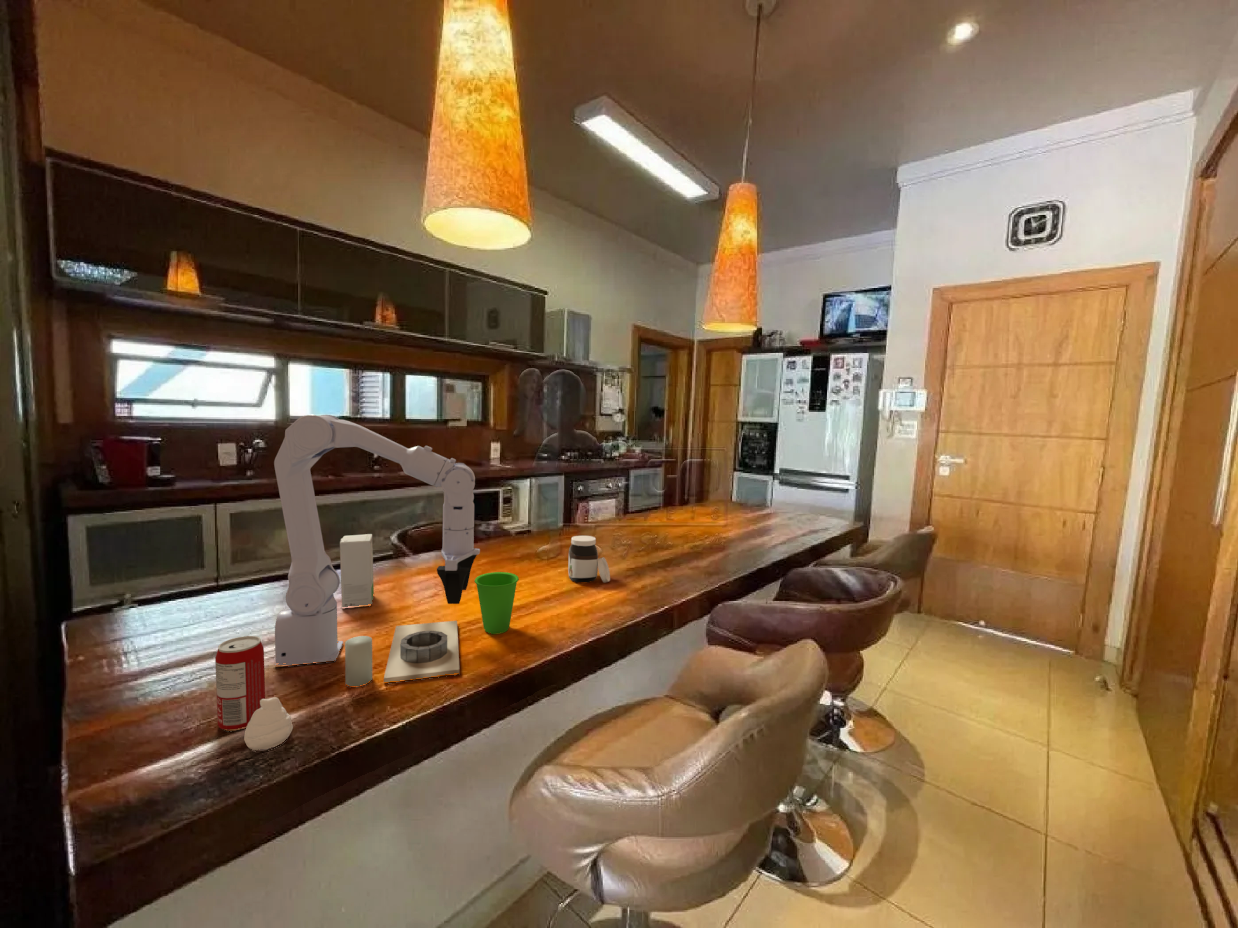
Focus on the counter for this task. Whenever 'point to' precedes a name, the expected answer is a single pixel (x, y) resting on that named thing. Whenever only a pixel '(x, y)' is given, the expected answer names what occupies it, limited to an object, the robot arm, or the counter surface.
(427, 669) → the peg holder
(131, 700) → the counter surface
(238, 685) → the soda can
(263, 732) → the garlic bulb
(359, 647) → the gray peg
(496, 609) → the cup
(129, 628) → the counter surface
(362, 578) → the skincare box
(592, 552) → the spread jar
